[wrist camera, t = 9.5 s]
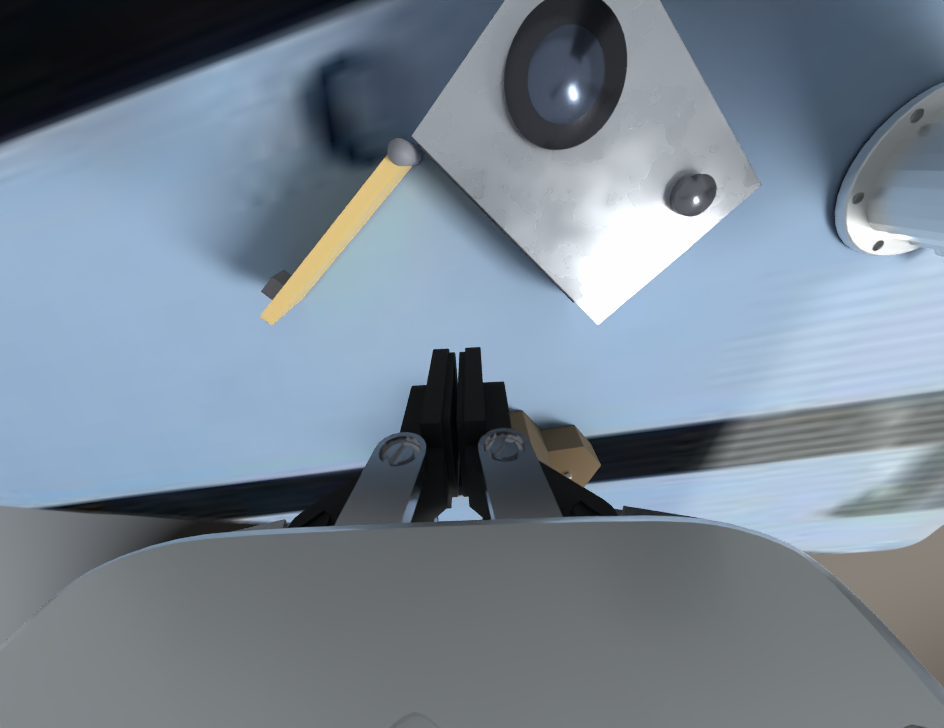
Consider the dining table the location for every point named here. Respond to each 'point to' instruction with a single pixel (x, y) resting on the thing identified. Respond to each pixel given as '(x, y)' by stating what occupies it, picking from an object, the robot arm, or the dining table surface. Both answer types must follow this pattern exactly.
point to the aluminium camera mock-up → (588, 142)
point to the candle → (559, 448)
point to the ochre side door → (341, 230)
